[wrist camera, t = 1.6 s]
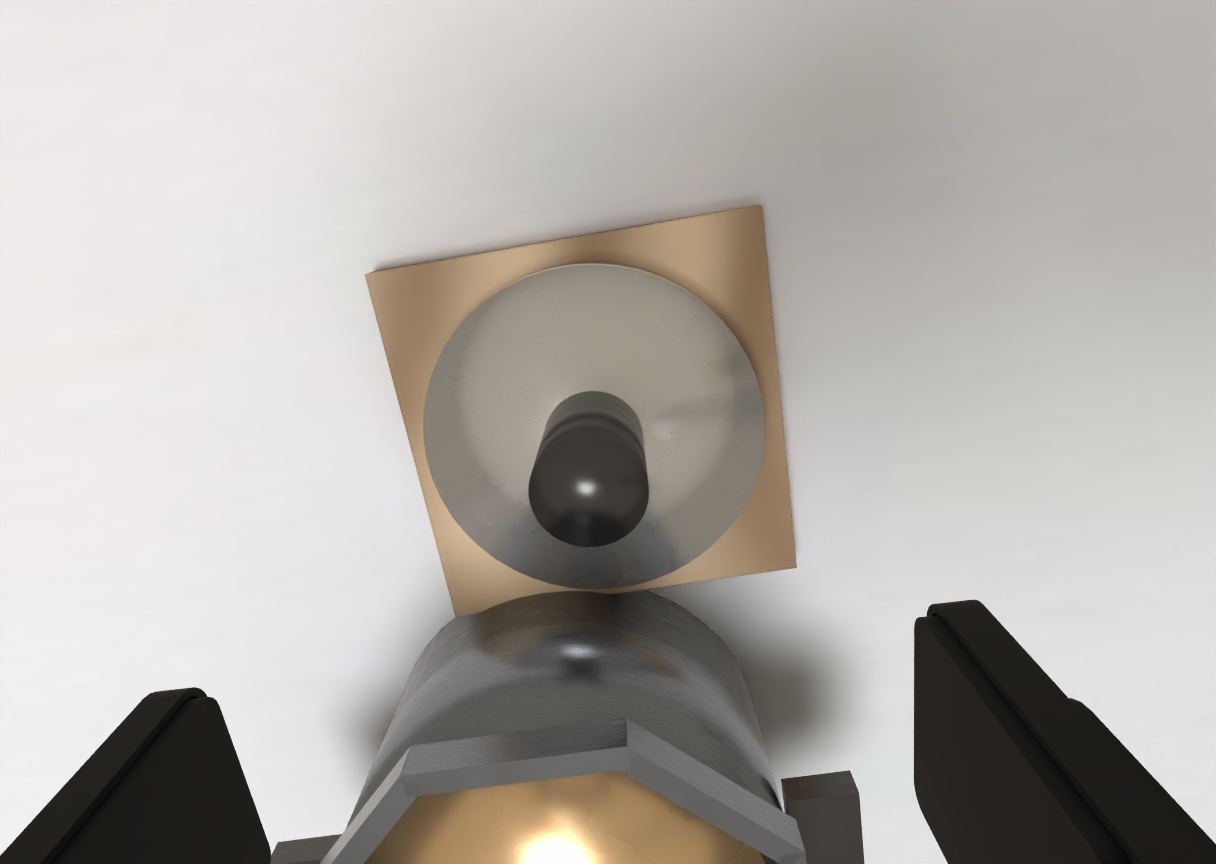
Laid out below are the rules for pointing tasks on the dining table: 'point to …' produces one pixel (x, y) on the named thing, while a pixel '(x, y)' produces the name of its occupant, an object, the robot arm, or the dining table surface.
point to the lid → (594, 426)
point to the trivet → (677, 249)
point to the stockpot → (584, 750)
